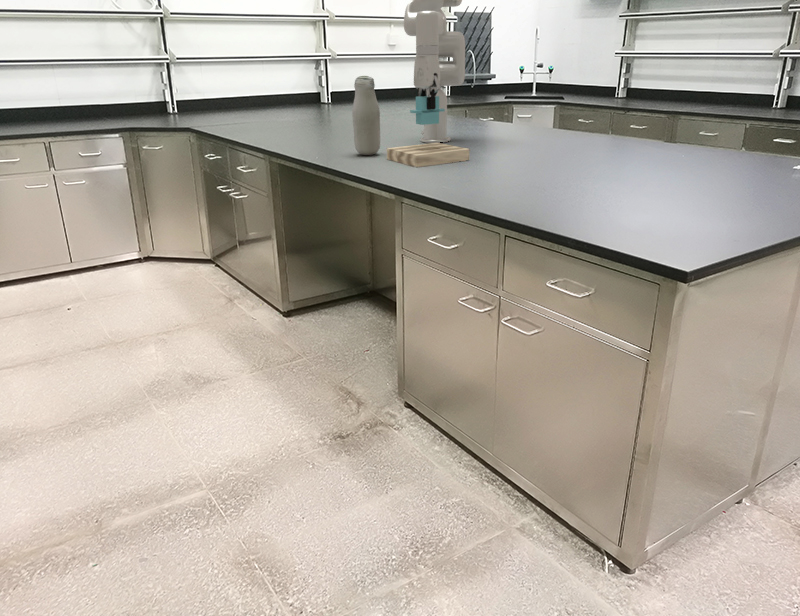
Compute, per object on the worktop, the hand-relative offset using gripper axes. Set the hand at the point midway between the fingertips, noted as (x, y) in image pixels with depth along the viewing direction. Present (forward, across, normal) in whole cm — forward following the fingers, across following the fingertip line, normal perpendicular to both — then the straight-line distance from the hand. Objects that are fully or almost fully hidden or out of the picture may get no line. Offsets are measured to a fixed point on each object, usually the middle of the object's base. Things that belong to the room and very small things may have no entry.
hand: (427, 108), depth 216 cm
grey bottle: (+18, -23, -12) cm, 32 cm away
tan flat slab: (+18, 0, 0) cm, 18 cm away
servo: (+5, 0, 0) cm, 5 cm away
